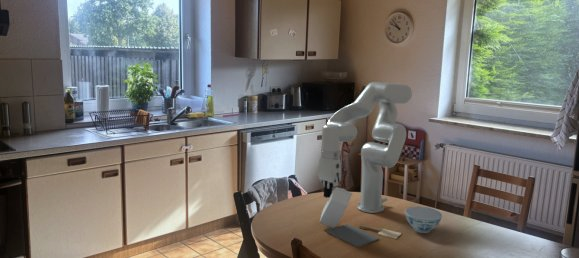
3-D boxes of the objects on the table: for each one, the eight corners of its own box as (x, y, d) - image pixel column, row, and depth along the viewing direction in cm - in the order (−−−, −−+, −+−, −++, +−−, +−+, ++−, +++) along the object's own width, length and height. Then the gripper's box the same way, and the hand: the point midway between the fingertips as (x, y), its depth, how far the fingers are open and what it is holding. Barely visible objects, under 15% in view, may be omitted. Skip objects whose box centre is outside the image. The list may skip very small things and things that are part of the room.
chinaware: (443, 227, 211) (445, 210, 209) (436, 240, 198) (437, 222, 196) (409, 220, 218) (410, 204, 216) (399, 232, 205) (400, 214, 203)
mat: (347, 225, 211) (347, 224, 211) (378, 239, 197) (379, 238, 197) (326, 231, 203) (326, 230, 203) (358, 247, 190) (358, 245, 189)
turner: (362, 224, 211) (363, 222, 211) (401, 234, 203) (401, 232, 203) (357, 229, 206) (357, 227, 206) (396, 239, 198) (396, 237, 198)
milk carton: (334, 229, 207) (351, 199, 195) (319, 222, 207) (334, 192, 195) (337, 217, 212) (353, 187, 201) (322, 211, 212) (337, 181, 201)
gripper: (349, 157, 201) (346, 200, 204) (324, 149, 212) (322, 190, 215) (336, 159, 196) (333, 203, 199) (311, 151, 207) (309, 193, 211)
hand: (327, 196), depth 207 cm, fingers closed
